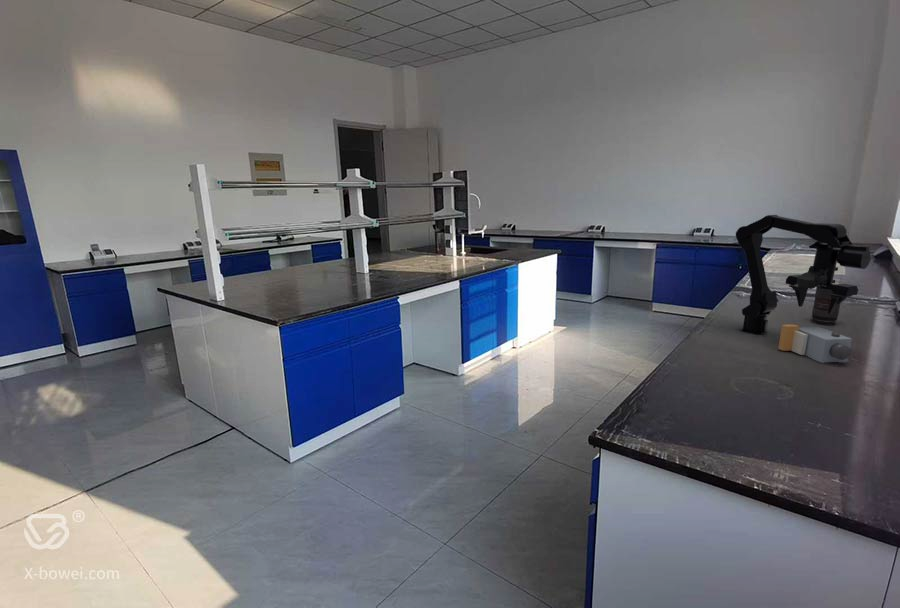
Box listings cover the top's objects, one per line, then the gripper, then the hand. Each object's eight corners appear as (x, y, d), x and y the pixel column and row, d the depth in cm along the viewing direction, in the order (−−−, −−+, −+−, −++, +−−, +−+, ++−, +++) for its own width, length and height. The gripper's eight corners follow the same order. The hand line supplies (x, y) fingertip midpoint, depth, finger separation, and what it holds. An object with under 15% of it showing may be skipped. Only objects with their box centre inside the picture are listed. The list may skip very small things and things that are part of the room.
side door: (778, 348, 149) (782, 324, 147) (790, 348, 149) (794, 324, 147) (791, 355, 143) (796, 330, 141) (804, 354, 143) (808, 330, 141)
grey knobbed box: (791, 349, 149) (795, 325, 147) (815, 348, 149) (820, 324, 147) (827, 365, 135) (832, 339, 133) (854, 365, 135) (859, 338, 133)
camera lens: (841, 326, 172) (849, 287, 168) (817, 325, 173) (824, 287, 170) (829, 320, 179) (836, 283, 176) (806, 319, 181) (812, 282, 177)
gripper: (778, 260, 152) (769, 305, 156) (839, 271, 135) (828, 321, 139) (801, 258, 155) (792, 302, 159) (864, 268, 138) (852, 317, 142)
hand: (814, 310), depth 150 cm, fingers open, 9 cm apart
